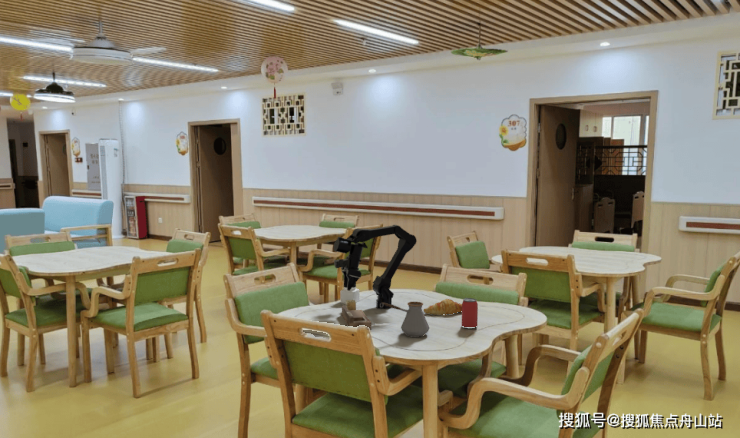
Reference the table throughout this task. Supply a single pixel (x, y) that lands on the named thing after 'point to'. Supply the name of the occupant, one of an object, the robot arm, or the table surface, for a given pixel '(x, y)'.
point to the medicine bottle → (349, 294)
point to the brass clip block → (351, 304)
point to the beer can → (469, 312)
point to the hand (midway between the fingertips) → (346, 288)
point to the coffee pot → (413, 319)
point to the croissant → (444, 308)
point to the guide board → (355, 317)
